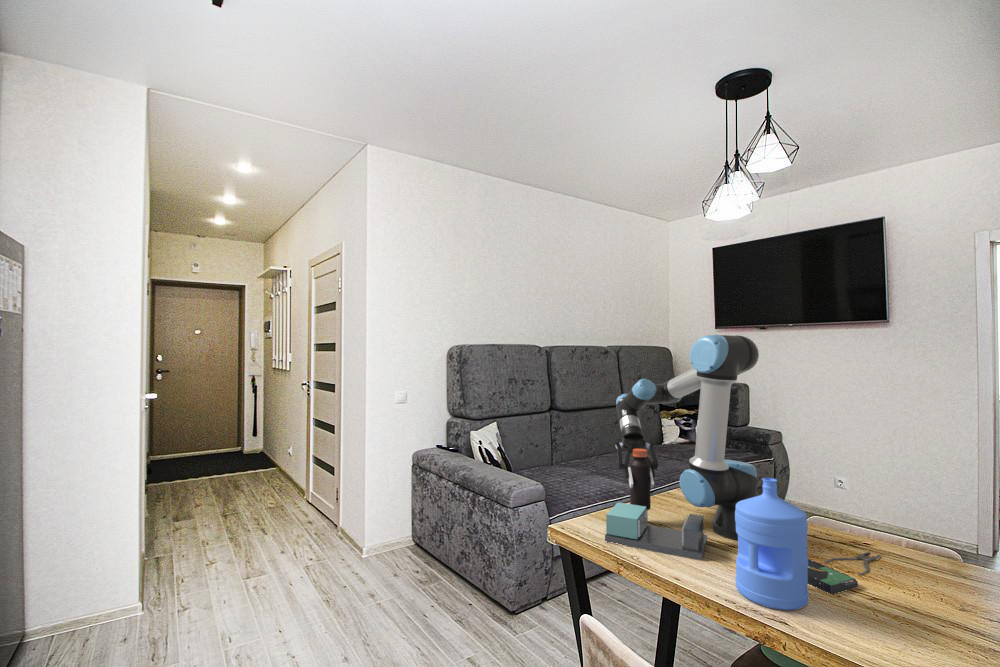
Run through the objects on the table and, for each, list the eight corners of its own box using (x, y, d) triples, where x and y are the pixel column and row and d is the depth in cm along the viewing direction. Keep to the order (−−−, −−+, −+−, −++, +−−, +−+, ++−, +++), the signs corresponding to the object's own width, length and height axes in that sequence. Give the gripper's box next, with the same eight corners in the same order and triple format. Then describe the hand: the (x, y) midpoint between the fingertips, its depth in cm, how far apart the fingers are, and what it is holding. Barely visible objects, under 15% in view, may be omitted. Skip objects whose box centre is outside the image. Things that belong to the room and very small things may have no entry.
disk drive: (776, 572, 134) (832, 597, 120) (776, 562, 134) (832, 585, 120) (802, 566, 138) (858, 589, 124) (802, 556, 138) (858, 577, 125)
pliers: (822, 563, 137) (842, 544, 151) (822, 566, 137) (842, 547, 151) (864, 575, 130) (881, 554, 144) (864, 578, 130) (882, 557, 143)
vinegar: (652, 507, 172) (652, 449, 173) (647, 512, 166) (647, 452, 167) (633, 503, 175) (633, 447, 176) (627, 508, 170) (627, 450, 170)
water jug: (761, 575, 131) (760, 469, 132) (823, 602, 117) (821, 483, 118) (721, 587, 124) (720, 475, 125) (781, 618, 110) (780, 491, 111)
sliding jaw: (648, 525, 161) (648, 506, 162) (638, 539, 149) (638, 519, 149) (617, 520, 166) (617, 502, 166) (606, 533, 154) (606, 514, 154)
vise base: (707, 541, 154) (707, 515, 154) (701, 560, 140) (701, 532, 140) (618, 525, 167) (618, 502, 167) (604, 541, 153) (604, 515, 153)
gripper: (655, 436, 187) (668, 492, 170) (604, 436, 188) (612, 491, 170) (659, 424, 182) (673, 480, 164) (606, 424, 182) (614, 479, 165)
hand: (642, 486), depth 168 cm, fingers closed on vinegar, 6 cm apart
